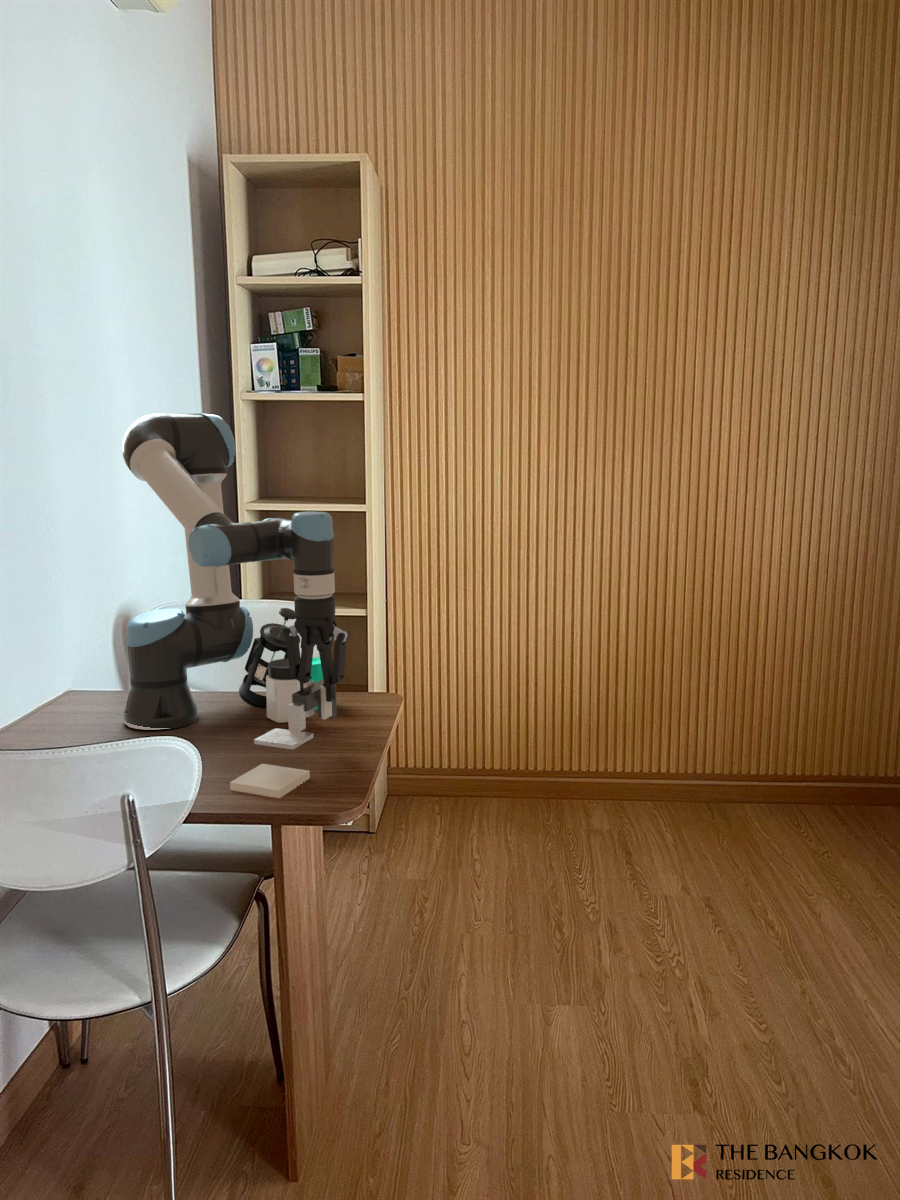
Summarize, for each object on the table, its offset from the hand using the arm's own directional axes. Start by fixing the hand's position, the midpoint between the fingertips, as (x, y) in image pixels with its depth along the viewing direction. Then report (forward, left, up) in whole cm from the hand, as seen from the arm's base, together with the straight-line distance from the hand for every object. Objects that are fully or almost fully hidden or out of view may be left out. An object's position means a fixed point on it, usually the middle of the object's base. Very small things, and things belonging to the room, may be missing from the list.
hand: (318, 715), depth 184 cm
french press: (-29, +23, -5) cm, 38 cm away
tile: (0, -12, -7) cm, 14 cm away
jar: (-18, +17, -8) cm, 26 cm away
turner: (0, -6, -1) cm, 6 cm away
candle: (-16, +27, -8) cm, 33 cm away
